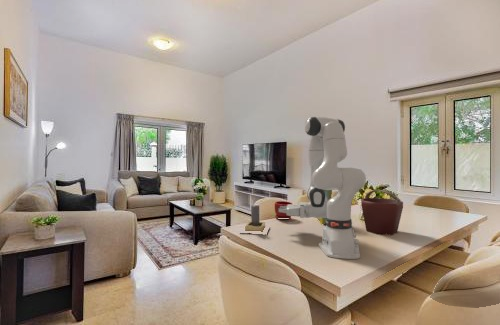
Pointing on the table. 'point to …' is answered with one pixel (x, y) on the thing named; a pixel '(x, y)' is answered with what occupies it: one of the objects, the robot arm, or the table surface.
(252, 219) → the grey cylinder
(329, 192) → the book
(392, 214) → the brown basket
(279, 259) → the table surface
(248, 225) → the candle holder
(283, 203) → the plant pot
